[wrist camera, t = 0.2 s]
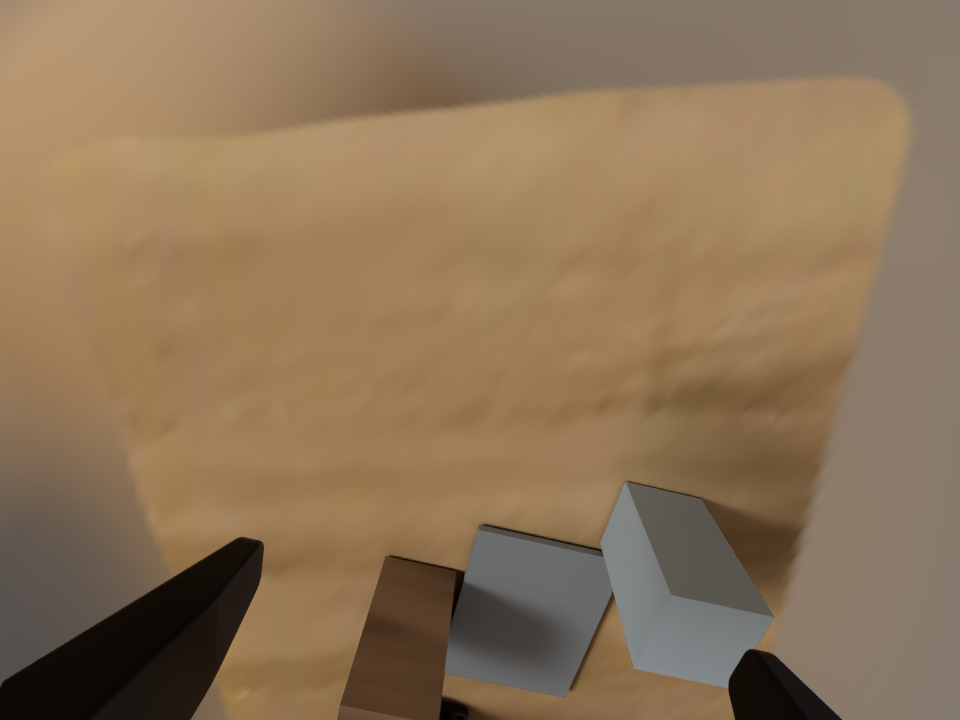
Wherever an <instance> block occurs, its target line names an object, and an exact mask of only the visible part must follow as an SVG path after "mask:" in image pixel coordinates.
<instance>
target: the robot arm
mask: <svg viewBox="0 0 960 720" xmlns="http://www.w3.org/2000/svg"><path fill="white" fill-rule="evenodd" d="M263 552H264V545H263V542H261V541H260V540H255V539H250V538H246V537H239V538H237V539H235V540H233V541H232V542H230V543H228V544H227V545H225V546H223V547H222V548H220V549H219V550H217V551H215V552H214V553H212V554H210V555H209V556H207V557H205V558H204V559H202V560H201V561H199V562H197V563H196V564H194V565H192V566H191V567H189V568H187V569H186V570H184V571H183V572H181V573H179V574H178V575H176V576H174V577H173V578H171V579H169V580H168V581H166V582H164V583H163V584H161V585H160V586H158V587H156V588H155V589H153V590H151V591H150V592H148V593H147V594H145V595H143V596H142V597H140V598H138V599H137V600H135V601H134V602H132V603H130V604H129V605H127V606H125V607H124V608H122V609H120V610H119V611H117V612H116V613H114V614H112V615H111V616H109V617H107V618H106V619H104V620H103V621H101V622H99V623H97V624H96V625H94V626H93V627H91V628H89V629H88V630H86V631H84V632H83V633H81V634H79V635H78V636H76V637H74V638H73V639H71V640H70V641H68V642H66V643H65V644H63V645H61V646H60V647H58V648H56V649H55V650H53V651H52V652H50V653H48V654H47V655H45V656H44V657H42V658H40V659H38V660H37V661H35V662H34V663H32V664H30V665H29V666H27V667H25V668H24V669H22V670H20V671H19V672H17V673H16V674H14V675H12V676H11V677H9V678H7V679H6V680H4V681H3V682H2V684H1V687H0V720H191V718H192V716H193V715H194V713H195V711H196V710H197V707H198V706H199V704H200V703H201V701H202V700H203V698H204V696H205V694H206V693H207V691H208V689H209V687H210V686H211V684H212V682H213V680H214V678H215V676H216V674H217V672H218V670H219V668H220V666H221V664H222V662H223V660H224V658H225V656H226V654H227V652H228V650H229V647H230V645H231V643H232V641H233V639H234V637H235V635H236V633H237V631H238V628H239V626H240V624H241V622H242V620H243V618H244V616H245V614H246V612H247V610H248V607H249V605H250V603H251V601H252V599H253V597H254V595H255V593H256V590H257V588H258V586H259V582H260V579H261V572H262V562H263ZM728 689H729V696H730V700H731V704H732V708H733V712H734V717H735V720H842V719H841V718H840V717H839V716H838V715H837V714H835V712H834V711H832V710H831V709H830V708H829V707H828V706H827V705H826V704H825V703H824V702H823V701H822V700H821V699H820V698H819V697H818V696H817V695H816V694H815V693H814V692H813V691H812V690H811V689H810V688H808V687H807V686H806V685H805V684H804V683H803V682H802V681H801V680H800V679H799V678H798V677H797V676H796V675H795V674H794V673H793V672H792V671H791V670H790V669H789V668H788V667H787V666H786V665H784V664H783V663H782V662H781V661H780V660H779V659H778V658H777V657H776V656H775V655H773V654H771V653H769V652H765V651H760V650H756V649H749V650H747V651H746V652H745V653H744V654H743V656H742V658H741V659H740V661H739V662H738V664H737V666H736V667H735V669H734V671H733V672H732V674H731V676H730V678H729V683H728ZM468 714H469V711H468V709H466V708H464V707H461V706H456V705H451V704H446V703H441V707H440V715H439V720H468Z"/></svg>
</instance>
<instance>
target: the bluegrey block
mask: <svg viewBox="0 0 960 720" xmlns="http://www.w3.org/2000/svg"><path fill="white" fill-rule="evenodd" d="M600 544H601V548H602V552H603V555H604V559H605V563H606V567H607V570H608V574H609V578H610V582H611V585H612V589H613V593H614V596H615V600H616V604H617V608H618V611H619V615H620V619H621V622H622V626H623V630H624V634H625V637H626V641H627V645H628V649H629V652H630V656H631V660H632V663H633V667H634V669H638V670H643V671H647V672H652V673H657V674H662V675H666V676H671V677H676V678H681V679H685V680H690V681H695V682H700V683H704V684H709V685H714V686H719V687H723V688H728V683H729V678H730V676H731V674H732V672H733V671H734V669H735V667H736V666H737V664H738V662H739V661H740V659H741V658H742V656H743V654H744V653H745V652H746V651H747V650H749V649H755V648H756V646H757V645H758V643H759V641H760V640H761V638H762V637H763V635H764V633H765V632H766V630H767V629H768V627H769V626H770V624H771V622H772V621H773V619H774V618H775V617H774V616H773V614H772V612H771V611H770V609H769V608H768V606H767V604H766V603H765V601H764V599H763V598H762V596H761V595H760V593H759V591H758V590H757V588H756V587H755V585H754V583H753V582H752V580H751V579H750V577H749V575H748V574H747V572H746V570H745V569H744V567H743V566H742V564H741V562H740V561H739V559H738V558H737V556H736V554H735V553H734V551H733V549H732V548H731V546H730V545H729V543H728V541H727V540H726V538H725V537H724V535H723V533H722V532H721V530H720V528H719V527H718V525H717V524H716V522H715V520H714V519H713V517H712V516H711V514H710V512H709V511H708V509H707V508H706V506H705V504H704V503H703V501H702V499H700V498H695V497H691V496H686V495H682V494H678V493H673V492H669V491H664V490H660V489H656V488H651V487H647V486H642V485H638V484H634V483H629V482H625V484H624V486H623V489H622V491H621V494H620V496H619V498H618V501H617V503H616V506H615V508H614V510H613V513H612V515H611V518H610V520H609V523H608V525H607V527H606V530H605V532H604V535H603V537H602V539H601V542H600Z"/></svg>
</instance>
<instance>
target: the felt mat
mask: <svg viewBox="0 0 960 720" xmlns="http://www.w3.org/2000/svg"><path fill="white" fill-rule="evenodd" d="M612 592H613V589H612V585H611V582H610V578H609V574H608V570H607V567H606V563H605V559H604V555H603V552H601V551H597V550H592V549H588V548H583V547H578V546H574V545H569V544H565V543H560V542H556V541H551V540H547V539H542V538H538V537H533V536H529V535H524V534H520V533H515V532H511V531H506V530H501V529H497V528H492V527H488V526H483V525H479V527H478V531H477V534H476V538H475V541H474V545H473V548H472V551H471V555H470V558H469V562H468V565H467V569H466V572H465V575H464V579H463V582H462V586H461V589H460V593H459V596H458V599H457V603H456V606H455V610H454V613H453V617H452V620H451V623H450V630H449V638H448V647H447V655H446V664H445V673H447V674H452V675H457V676H461V677H466V678H471V679H476V680H481V681H486V682H491V683H495V684H500V685H505V686H510V687H515V688H520V689H524V690H529V691H534V692H539V693H544V694H549V695H553V696H558V697H563V698H565V697H566V695H567V693H568V691H569V688H570V686H571V684H572V682H573V679H574V677H575V675H576V673H577V670H578V668H579V666H580V664H581V662H582V659H583V657H584V655H585V653H586V650H587V648H588V646H589V644H590V641H591V639H592V637H593V635H594V632H595V630H596V628H597V626H598V624H599V621H600V619H601V617H602V615H603V612H604V610H605V608H606V606H607V603H608V601H609V599H610V597H611V595H612Z"/></svg>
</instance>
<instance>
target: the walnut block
mask: <svg viewBox="0 0 960 720" xmlns="http://www.w3.org/2000/svg"><path fill="white" fill-rule="evenodd" d="M455 578H456V571H452V570H448V569H443V568H438V567H434V566H429V565H425V564H420V563H415V562H411V561H406V560H401V559H397V558H392V557H387V556H386V557H385V560H384V564H383V567H382V570H381V573H380V577H379V580H378V583H377V586H376V590H375V593H374V596H373V599H372V603H371V606H370V609H369V613H368V616H367V619H366V622H365V626H364V629H363V632H362V635H361V639H360V642H359V645H358V648H357V652H356V655H355V658H354V661H353V665H352V668H351V671H350V674H349V678H348V681H347V684H346V687H345V691H344V694H343V697H342V701H341V704H340V708H339V713H338V719H337V720H439V715H440V707H441V698H442V690H443V681H444V673H445V664H446V655H447V647H448V638H449V630H450V621H451V612H452V604H453V595H454V587H455Z"/></svg>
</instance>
